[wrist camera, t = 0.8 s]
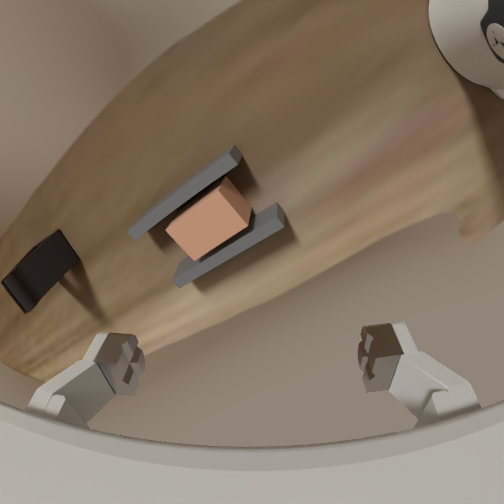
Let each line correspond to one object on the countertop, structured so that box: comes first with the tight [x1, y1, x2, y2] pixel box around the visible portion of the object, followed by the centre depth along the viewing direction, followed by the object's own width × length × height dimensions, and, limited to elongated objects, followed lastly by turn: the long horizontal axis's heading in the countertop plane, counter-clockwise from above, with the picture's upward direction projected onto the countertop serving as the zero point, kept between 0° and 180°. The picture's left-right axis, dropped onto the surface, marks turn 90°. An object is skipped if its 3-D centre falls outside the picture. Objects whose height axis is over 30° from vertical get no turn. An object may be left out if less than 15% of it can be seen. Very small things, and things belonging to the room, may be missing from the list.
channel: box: [127, 145, 285, 288], centre depth 37 cm, size 16×10×4 cm, turn 126°
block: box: [165, 176, 252, 261], centre depth 36 cm, size 8×5×5 cm, turn 127°
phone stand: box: [1, 229, 79, 314], centre depth 39 cm, size 9×6×12 cm, turn 114°
